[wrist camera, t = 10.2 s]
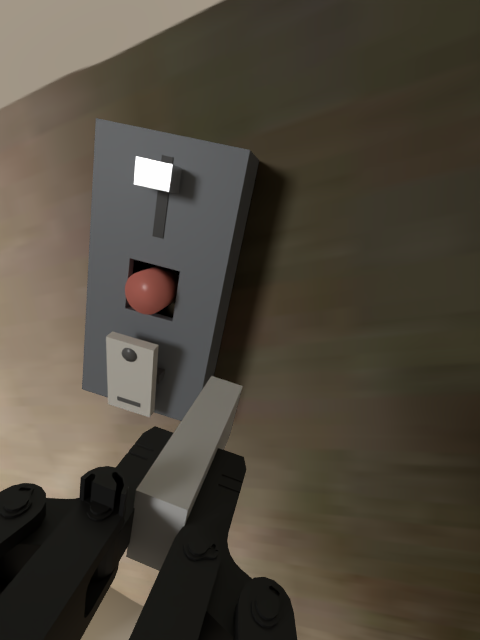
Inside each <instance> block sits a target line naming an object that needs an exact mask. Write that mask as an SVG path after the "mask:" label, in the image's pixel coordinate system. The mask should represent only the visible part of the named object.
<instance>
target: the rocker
mask: <svg viewBox="0 0 480 640" xmlns="http://www.w3.org/2000/svg"><path fill="white" fill-rule="evenodd" d="M158 346H159V345H157V344H154V343H150V342H147V341H143V340H140V339H136V338H133V337H130V336H126V335H123V334H119V333H116V332H113V331H112V332H111V333H110V334H108V335H107V336H106V354H107V385H108V404H110V405H113V406H116V407H119V408H122V409H125V410H128V411H132V412H135V413H138V414H141V415H144V416H147V417H150V416H151V415H152V414H153V412H154V409H155V394H156V378H157V362H158Z"/></svg>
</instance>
